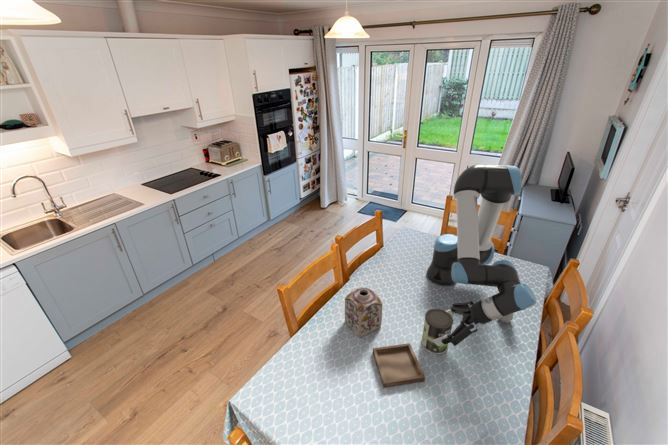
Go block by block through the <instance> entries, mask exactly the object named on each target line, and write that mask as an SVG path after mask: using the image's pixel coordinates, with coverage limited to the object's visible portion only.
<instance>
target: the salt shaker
mask: <svg viewBox="0 0 668 445" xmlns="http://www.w3.org/2000/svg"><path fill="white" fill-rule="evenodd" d="M513 318H514V313H512V314H509V315H507V316H504V317H502V318H499V319H498V321H499V322H500V323H502V324H509V322H512V320H513Z"/></svg>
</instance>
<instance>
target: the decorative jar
mask: <svg viewBox="0 0 668 445" xmlns="http://www.w3.org/2000/svg"><path fill="white" fill-rule="evenodd" d="M382 318H383V302H382V300H381V299H380V297H379V296H378V294H377V293H376V292H375V291H374V290H373V289H372V288H368V287H361V286H359V287H357V288H355V289H351V291H350V292H349V293H348V294H347V295H346V296H345V298H344V321H345V323H346V324H347V325H348V326H349V328H350V329H351V330H352V331H353V332H354V333H355V335H356V336H357V337H358V338H362V337H364V336H366V335H368V334H370V333H372V332H374V331H375V330H378V329H381V327H382V323H383V322H382V321H383V319H382Z"/></svg>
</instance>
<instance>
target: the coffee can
mask: <svg viewBox="0 0 668 445" xmlns="http://www.w3.org/2000/svg"><path fill="white" fill-rule="evenodd" d="M453 325H454V318H453V316H451V315H450V314H449V313H448V312H446V310H444V309H441V308H430V309H428V310H427V311H426V312H425V314H424V323H423V330H422V335H421V346H422V347H423V349H424V350H426V352H429V353H430V354H433V355H443V354H445V352H447V350H448V348H449V343H448V344H443V345H440V346H437V345H436V344H435V343H434V342H433V340H434V339H437V338H439V337H442V336H445V335H447V334H448V335H450V334H451V333H452V329H453Z"/></svg>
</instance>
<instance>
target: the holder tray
mask: <svg viewBox="0 0 668 445" xmlns="http://www.w3.org/2000/svg"><path fill="white" fill-rule="evenodd" d="M372 354H373V358H374V361H375V364H376V368H377V372H378V374H379V377H380V381H381V385H382V388H383V389H386V388H392V387H398V386H404V385H411V384H417V383H424V382H425V380H426V375H425V374H424V371H423V369H422V367H421V364H420V362H419V360H418V358H417V356H416V353H415V351H414V349H413V346H412V345H411V343H410V342H408V343H407V342H406V343H401V344H393V345H387V346H380V347H379V346H378V347H373V348H372Z"/></svg>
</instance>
